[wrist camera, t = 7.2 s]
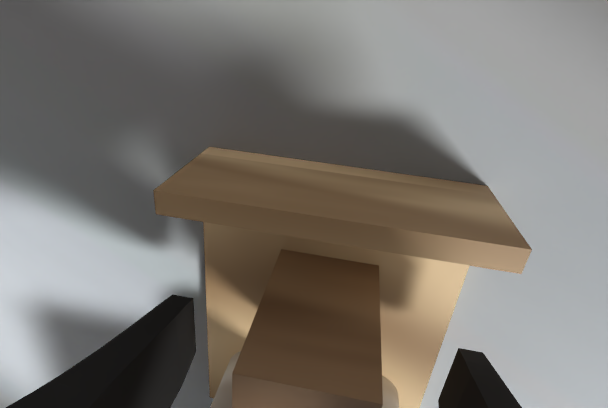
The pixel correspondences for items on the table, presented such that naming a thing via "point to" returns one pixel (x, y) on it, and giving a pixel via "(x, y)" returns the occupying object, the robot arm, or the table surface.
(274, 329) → the wooden toy
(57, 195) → the table surface
